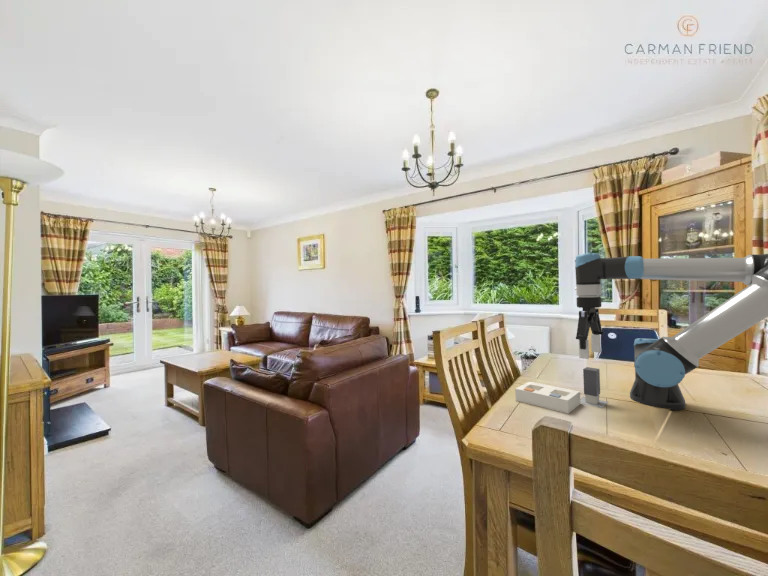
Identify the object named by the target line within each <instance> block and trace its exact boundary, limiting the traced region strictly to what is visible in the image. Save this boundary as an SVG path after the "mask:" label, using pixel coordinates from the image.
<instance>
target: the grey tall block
mask: <svg viewBox="0 0 768 576" xmlns="http://www.w3.org/2000/svg"><path fill="white" fill-rule="evenodd" d="M582 371H583V375H582V376H583V377H582V378H583V394H584V397H585V401H586V402H587V403H591V404H596V405H597V404H598V403H599V400H600V395H601V379H600V377H601V372H600V368H595V367H589V366H588V367H587V366H586V367H584V368H583V370H582Z"/></svg>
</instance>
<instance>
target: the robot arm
mask: <svg viewBox="0 0 768 576" xmlns="http://www.w3.org/2000/svg"><path fill="white" fill-rule="evenodd" d="M574 267H575V285H576V286H575V287H574V290H575V291H576V296H577V297H576V307H577V308H582V310H579V311H578V323H577V329H576V335H575V339H576V340H578V351H579V352H578V353H579V354H578V355H579V359H583V360H584V359H585V360H589V359H590V351H589V349H590V347H589V346H590V345H589V340H588V336H589V333H590V331H591V335H590V339H591V340H590V341H591V342H590V344H591V353H593V352H594V353H599V354H600V353H601V352H602V349H601V348H602V346H601V336H602V335H603V334H604V332H603V329H602V324H601V318H600V312H599V308H602V297H601V296H602V284H601V280H660V281H661V280H662V281H692V282H693V281H695V282H697V281H699V282H700V281H702V282H735V283H742V284H744V285H746V287H744V288H743V289H741V290H740V291H739V292H737V293H736V294H734V295H732V296H731V297H730V298H728V299H727V300H725V301H724V302H722V303H721V304H719V305H718V306H716V307H715V308H713V309H712V310H710V311H709V312H707V313H706V314H704V315H702V316H701V317H700V318H698V319H697V320H695V321H694V322H692V323H691V324H689V325H688V326H686V327H685V328H684V329H682V330H680V331H679V332H678V333H676V334H675V335H673V336H662V337H660V338H645V337H644V338H642V337H641V338H638V337H637V338H635V339H634V342H633V348H634V362H633V363H634V365H633V368H634V375H635V376H634V378H635V379H634V381H633V384H632V386H631V389H630V391H629V398H630V399H631V400H632V401H634V402H636V403H639V404H641V405H644V406H648V407H652V408H659V409H666V410H667V409H669V411H682V410H685V409H686V408H685V407H686V400H685V397H684V395H683V393H682V391H681V388H680V386H679V384H680V383H682V381H683V379H685V377H686V375H687V374H690V372H692V371H694V370H695V369H697V368H698V367H699V365H700V364H699V363H700V362H699V361H700V359H702V358H704V356H706V355H708V354H710V353H711V352H713V351H715V350H717V349H718V348H719V347H721V346H723V345H724V344H726V343H728V342H729V341H731V340H733V339H734V338H735V337H737V336H739V335H741V334H742V333H744V332H746V331H747V330H749V329H750V328H752V327H753V326H755V325H757V324H759V323H760V322H761V321H763V320H765V319H767V318H768V253H763V254H762V253H760V254H747V255H746V256H744V257H689V258H687V257H686V258H683V257H682V258H681V257H680V258H677V257H676V258H673V257H672V258H671V257H670V258H667V257H666V258H661V257H660V258H644V257H643V256H639V255H637V256H636V255H629V256H617V257H608V258H607V257H601V255H600V253H598V252H592V253H590V252H589V253H581V254H578V255H576V256H575V266H574Z"/></svg>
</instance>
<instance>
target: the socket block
mask: <svg viewBox="0 0 768 576" xmlns="http://www.w3.org/2000/svg"><path fill="white" fill-rule="evenodd" d="M514 392H515V402H520V403H523V404H529V405H532V406H537V407H540V408H544V409H548V410H552V411H557V412H560V413H563V414H567V415H568V414H570V413H571V412H572V411H573V410H575V409H576V408H578V407H579V406H580V405H581V403H580V399H581V391H579V390H574V389H569V388H564V387H559V386H554V385H551V384H550V385H549V384H544V383H540V382H534V381H527V382H525V383H524V384H522V385H520V386H517V387H516V388H515V389H514Z"/></svg>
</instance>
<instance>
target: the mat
mask: <svg viewBox="0 0 768 576" xmlns="http://www.w3.org/2000/svg"><path fill="white" fill-rule="evenodd" d="M607 404H609V401H607V400H601V399H599V403H598V404H597V405H596V404H591V403H587V402H586V401H585V396H583V397H580V405H586V406H591V407H595V408H600V409H603V408H604V407H605V406H606V405H607Z"/></svg>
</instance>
